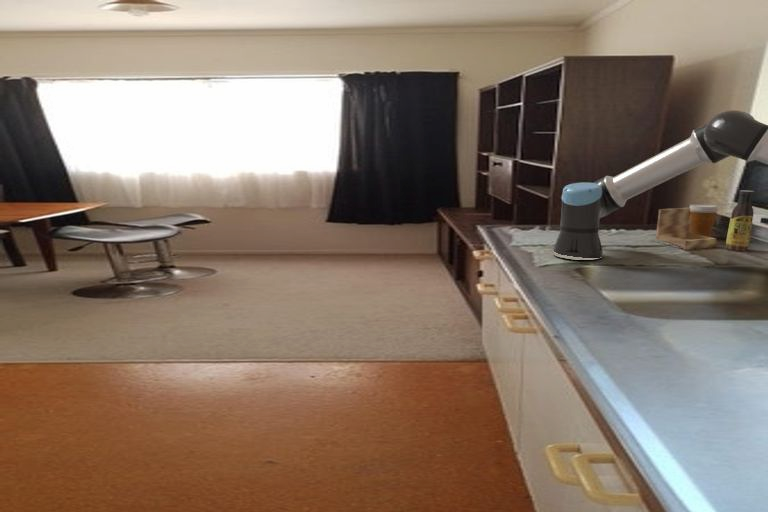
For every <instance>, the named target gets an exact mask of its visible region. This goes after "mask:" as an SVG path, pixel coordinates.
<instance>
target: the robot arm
mask: <svg viewBox="0 0 768 512" xmlns="http://www.w3.org/2000/svg"><path fill="white" fill-rule="evenodd" d="M729 157H733V158H737V159H740V160H743V161H745V162H753V161H757V162H760V163H762V164H765V165H768V124H765V123H763V122H761V121H758V120H757V119H755V117H754V116H753V115H751V114H749V113H747V112H745V111H741V110H735V109H734V110H725V111H721V112H720V113H718V114H716V115H715V116H713V117H712V118H711V119H710V120H709V121H708V122H706V123H704V124H703V125H700V126H698V127H697V128H695V129H693V130H692V133H691V135H690V137H688V138H687V139H685V140H683V141H681V142H678V143H677V144H675V145H673V146H671V147H669V148H667V149H665V150H663V151H661V152H659V153H658V154H656V155H654V156H652V157H649V158H648V159H646V160H644V161H643V162H640V163H639V164H636V165H634V166H632V167H631V168H628V169H627V170H625V171H623V172H622V173H619V174H617V175H615V176H611V175H610V176H609V175H605V176H604V177H602V178H600V179H598V180H596V181H594V182H587V181H586V182H583V181H582V182H574V183H570V184H567V185H565V186H564V187H563V189H562V194H561V197H560V198H561V207H560V223H559V225H560V227H559V233H558V236H557V239H556V241H555V243H554V246H553V250H552V252H553V251H554V252H556V253H558V254H561V255H567V256H573V257H582V258H600V257H602V258H603V254H604V253H603V252H604V250H603V247H602V243H601V242H602V241H601V239H600V235H599V231H600V229H599V228H600V219H601V218H604V217H607V216H608V215H610V214H611V213H613V212H615V211H617V210H619V209H621V208H623V207H625V205H626V203H627V201H628V200H629V199H631V198H633V197H636V196H638V195H640V194H642V193H644V192H646V191H648V190H650V189H653V188H655V187H656V186H659V185H660V184H663V183H664V182H667V181H670V180H671V179H673V178H676V177H677V176H679V175H681V174H684V173H686V172H688V171H690V170H692V169H694V168H697V166H700V165H702V164H704V163H705V164H711V165H714V164H717V163H718V162H721V161H723V160H724V159H727V158H729ZM752 223H753V224H757V225H764V226H768V215H765V214H757V213H754V214H753V220H752Z"/></svg>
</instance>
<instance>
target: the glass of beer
mask: <svg viewBox="0 0 768 512" xmlns="http://www.w3.org/2000/svg"><path fill="white" fill-rule="evenodd" d="M688 208H690V216H689V233H693V234H698V235H702V236H707V237H711V232H712V230H713V225H714V223H715V222H714V221H715V219H716V215H717V213H718V211H719V209H718V206H717V205H715V204H704V203H703V204H702V203H697V204H694V203H693V204H689V207H688Z"/></svg>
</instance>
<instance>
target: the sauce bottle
mask: <svg viewBox="0 0 768 512" xmlns="http://www.w3.org/2000/svg"><path fill="white" fill-rule="evenodd" d="M738 195H739V196H738V199H737V205H736V206H734V207H733V210H731V211H732V212H731V215H730V219H729V224H728V230H727V235H726V241H725V244H726V245H725V249H726V250H729V251H734V252H745V251H746V252H747V250H748V247H749V243H750V239H751V233H752V228H753V224H754V223H752V220H753V214H755V213H754V208H753V197H754V195H755V191H754V190H742V189H741V190H739V191H738Z"/></svg>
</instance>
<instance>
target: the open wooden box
mask: <svg viewBox="0 0 768 512" xmlns="http://www.w3.org/2000/svg"><path fill="white" fill-rule="evenodd" d="M689 225H690V208H689V207H682V208H681V207H680V208H679V207H677V208H676V207H675V208H663V209H662V208H661V209H658V216H657V223H656V234H655V240H656V239H657V240H660V241H663V242H666V243H669V244H672V245H675V246H678V247H680V248H679V249H681V248H683V249H682V250H693V249H694V248H696V249H705V248H706V249H707V248H708V247H709V248H716V247H717V238H715V237H711V236H710V237H707V236H702V235H698V234H693V233H690V232H688V230H689ZM694 250H695V249H694Z"/></svg>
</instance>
